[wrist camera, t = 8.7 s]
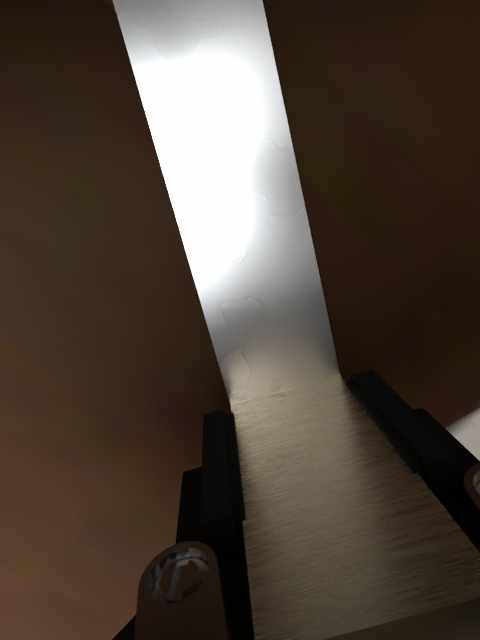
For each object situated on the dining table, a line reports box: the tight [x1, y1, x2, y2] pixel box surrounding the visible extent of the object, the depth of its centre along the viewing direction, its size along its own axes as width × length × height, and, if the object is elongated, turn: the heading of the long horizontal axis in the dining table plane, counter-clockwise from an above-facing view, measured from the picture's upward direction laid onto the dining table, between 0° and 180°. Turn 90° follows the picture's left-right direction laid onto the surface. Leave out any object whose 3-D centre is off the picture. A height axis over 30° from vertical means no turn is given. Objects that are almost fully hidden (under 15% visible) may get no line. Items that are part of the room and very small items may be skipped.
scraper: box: [113, 0, 480, 640], centre depth 8 cm, size 19×7×10 cm, turn 14°
